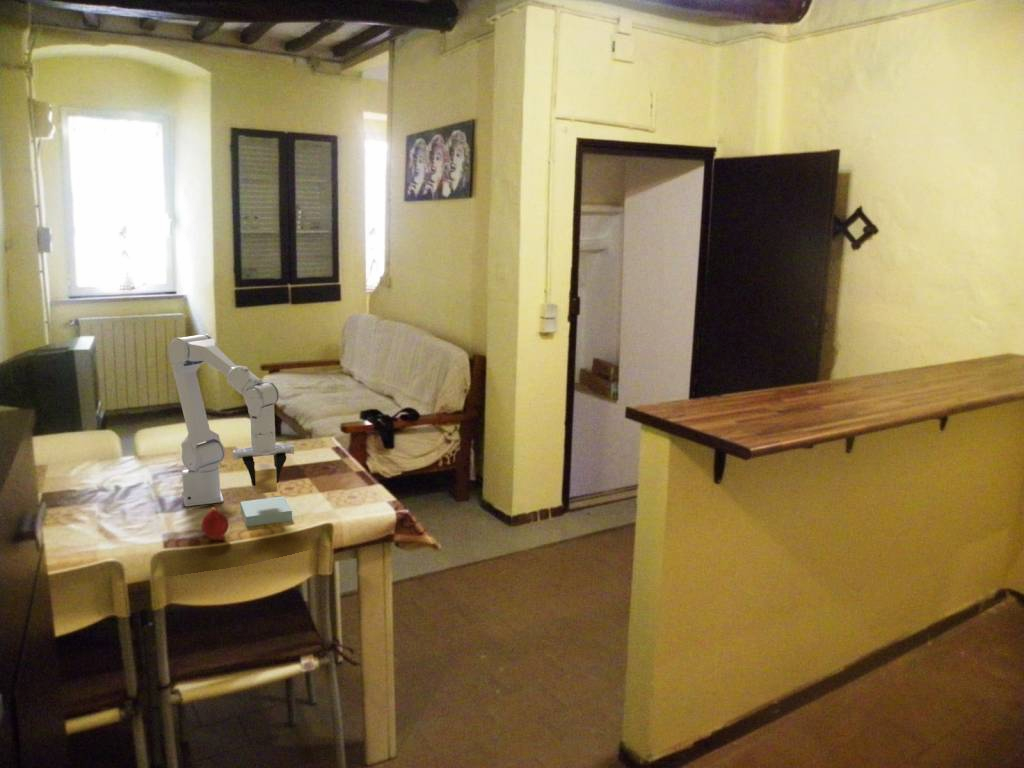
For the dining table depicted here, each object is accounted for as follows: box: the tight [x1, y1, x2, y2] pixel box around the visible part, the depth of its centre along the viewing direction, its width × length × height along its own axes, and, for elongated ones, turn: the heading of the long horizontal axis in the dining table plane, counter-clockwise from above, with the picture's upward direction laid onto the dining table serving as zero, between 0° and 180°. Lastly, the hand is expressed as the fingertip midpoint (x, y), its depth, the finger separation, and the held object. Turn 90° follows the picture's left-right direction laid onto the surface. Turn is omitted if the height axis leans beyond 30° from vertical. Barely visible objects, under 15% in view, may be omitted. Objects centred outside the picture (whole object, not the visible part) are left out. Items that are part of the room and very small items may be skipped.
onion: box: [201, 506, 229, 541], centre depth 181 cm, size 6×6×8 cm
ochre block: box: [253, 462, 278, 495], centre depth 195 cm, size 5×5×6 cm
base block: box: [239, 495, 293, 527], centre depth 197 cm, size 11×11×3 cm
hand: (265, 483), depth 195 cm, fingers closed on ochre block, 5 cm apart
